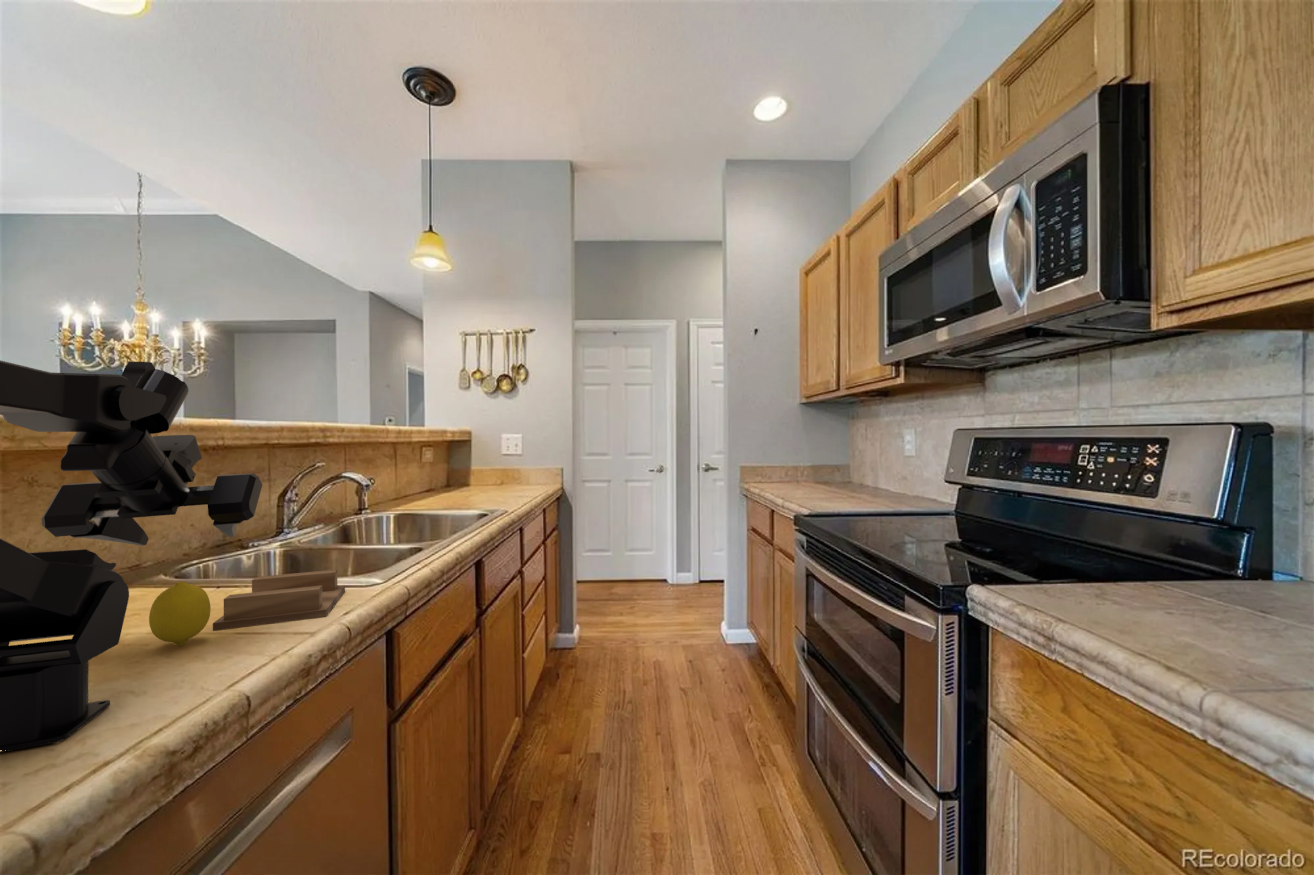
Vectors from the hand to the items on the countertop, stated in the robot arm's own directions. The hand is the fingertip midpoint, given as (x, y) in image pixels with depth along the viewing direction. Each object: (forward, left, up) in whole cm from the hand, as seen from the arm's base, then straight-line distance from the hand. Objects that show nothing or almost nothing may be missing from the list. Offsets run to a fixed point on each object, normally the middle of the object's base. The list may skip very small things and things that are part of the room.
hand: (190, 537), depth 65 cm
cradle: (+6, -9, -13) cm, 17 cm away
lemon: (-5, -1, -13) cm, 14 cm away
